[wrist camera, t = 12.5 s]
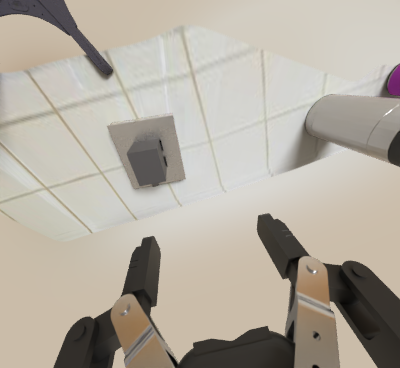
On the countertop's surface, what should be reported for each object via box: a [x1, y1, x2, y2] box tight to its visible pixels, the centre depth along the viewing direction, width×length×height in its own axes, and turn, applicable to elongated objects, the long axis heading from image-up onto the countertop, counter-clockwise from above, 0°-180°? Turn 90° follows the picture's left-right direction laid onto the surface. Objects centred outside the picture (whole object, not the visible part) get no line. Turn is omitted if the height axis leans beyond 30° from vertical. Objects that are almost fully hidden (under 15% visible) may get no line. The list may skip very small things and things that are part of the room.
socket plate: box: [107, 113, 186, 189], centre depth 34 cm, size 12×14×3 cm
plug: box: [127, 138, 167, 186], centre depth 31 cm, size 5×8×8 cm, turn 7°
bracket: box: [0, 0, 113, 75], centre depth 23 cm, size 14×15×3 cm
